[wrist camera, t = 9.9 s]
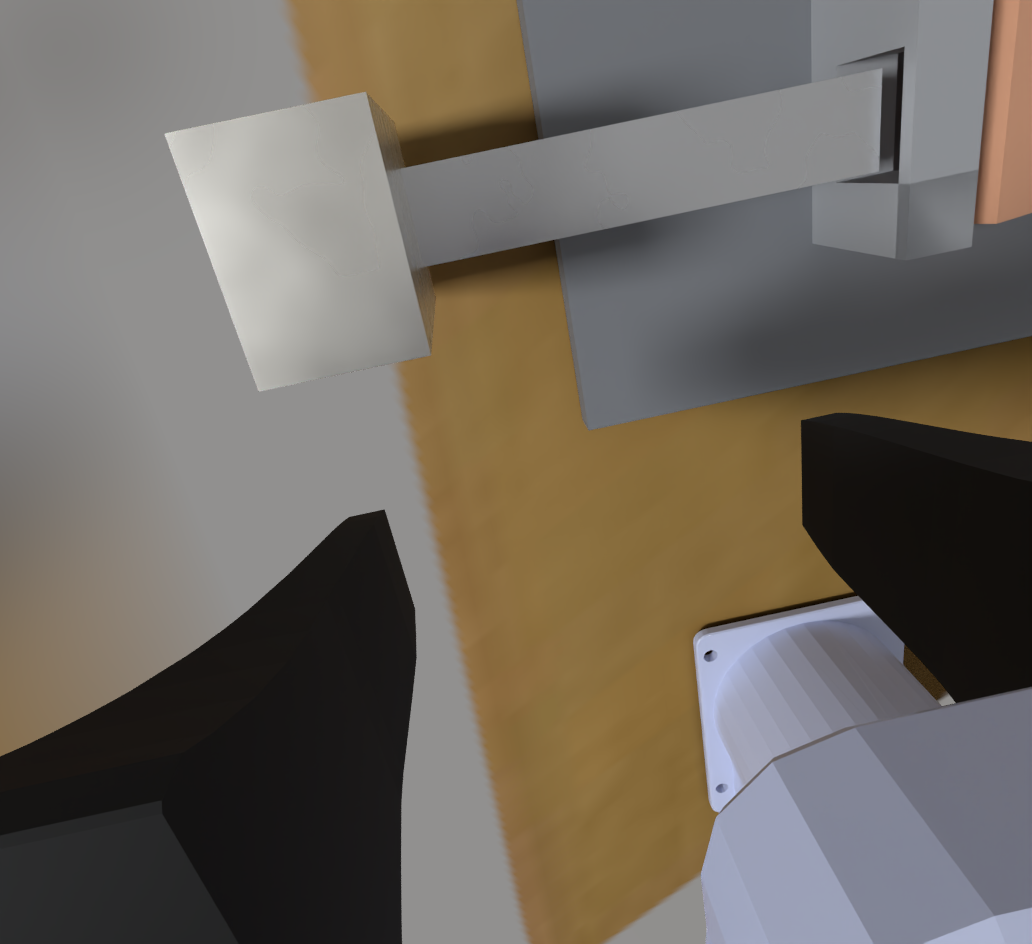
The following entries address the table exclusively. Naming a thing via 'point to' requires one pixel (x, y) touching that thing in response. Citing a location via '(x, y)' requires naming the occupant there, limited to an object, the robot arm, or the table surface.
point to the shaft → (466, 205)
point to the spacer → (1007, 117)
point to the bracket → (779, 202)
